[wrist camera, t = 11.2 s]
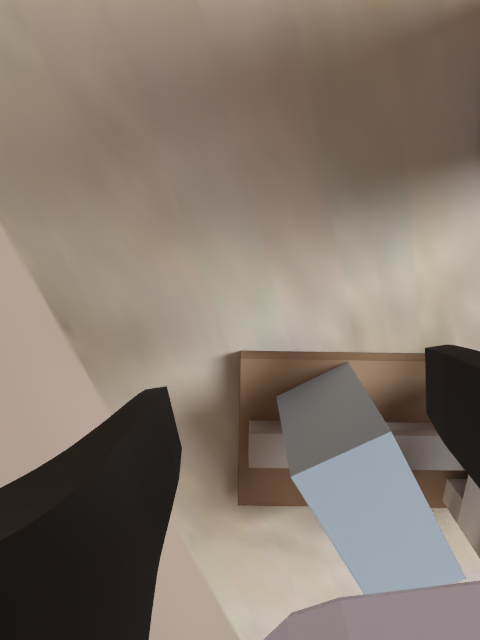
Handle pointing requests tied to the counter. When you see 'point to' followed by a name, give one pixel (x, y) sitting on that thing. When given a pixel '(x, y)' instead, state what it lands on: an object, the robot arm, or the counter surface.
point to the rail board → (391, 401)
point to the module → (362, 486)
